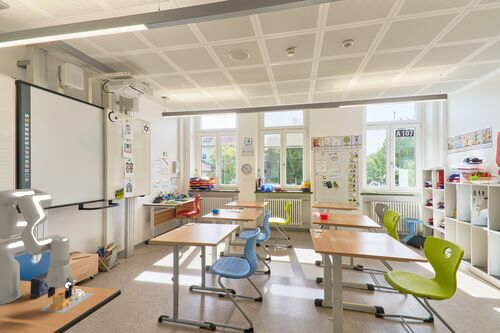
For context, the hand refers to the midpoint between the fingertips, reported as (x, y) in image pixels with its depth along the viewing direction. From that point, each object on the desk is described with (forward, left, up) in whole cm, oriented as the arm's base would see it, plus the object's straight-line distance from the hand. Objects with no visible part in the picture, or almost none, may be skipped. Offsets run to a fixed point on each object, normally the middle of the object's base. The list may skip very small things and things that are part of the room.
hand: (59, 296), depth 118 cm
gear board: (0, +4, -6) cm, 7 cm away
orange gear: (0, 0, -5) cm, 5 cm away
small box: (-24, +12, -6) cm, 28 cm away
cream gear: (0, +9, -5) cm, 10 cm away
